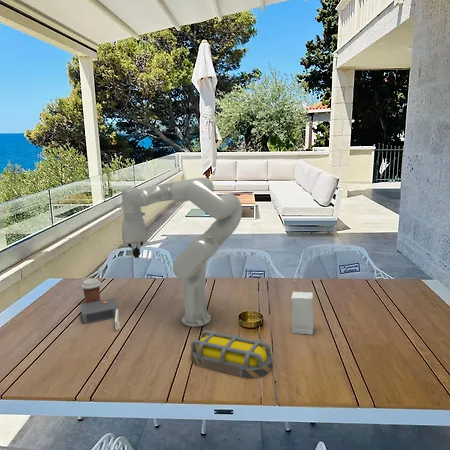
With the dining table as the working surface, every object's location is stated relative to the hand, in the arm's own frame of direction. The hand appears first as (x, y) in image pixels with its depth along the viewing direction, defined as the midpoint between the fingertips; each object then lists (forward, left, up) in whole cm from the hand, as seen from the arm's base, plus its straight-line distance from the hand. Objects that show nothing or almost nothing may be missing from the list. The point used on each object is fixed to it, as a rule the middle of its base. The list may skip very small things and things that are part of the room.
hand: (136, 257), depth 175 cm
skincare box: (-47, -55, -27) cm, 77 cm away
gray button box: (+8, +18, -27) cm, 33 cm away
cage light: (-54, -20, -28) cm, 64 cm away
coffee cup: (+23, +19, -27) cm, 40 cm away
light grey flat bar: (-5, +11, -27) cm, 30 cm away
